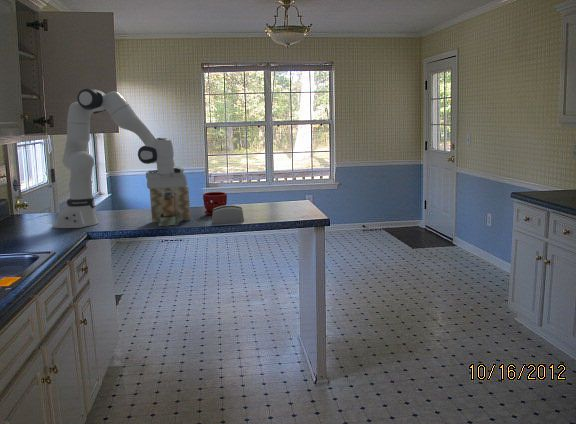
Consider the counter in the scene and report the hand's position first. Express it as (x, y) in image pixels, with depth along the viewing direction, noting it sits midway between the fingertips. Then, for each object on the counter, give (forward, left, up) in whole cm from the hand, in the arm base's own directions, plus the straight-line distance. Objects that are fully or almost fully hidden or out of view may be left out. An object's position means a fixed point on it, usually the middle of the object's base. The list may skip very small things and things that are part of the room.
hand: (168, 196), depth 286 cm
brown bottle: (0, 0, -9) cm, 9 cm away
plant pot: (+23, +20, -14) cm, 33 cm away
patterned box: (0, 0, -14) cm, 14 cm away
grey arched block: (+30, -4, -15) cm, 34 cm away
